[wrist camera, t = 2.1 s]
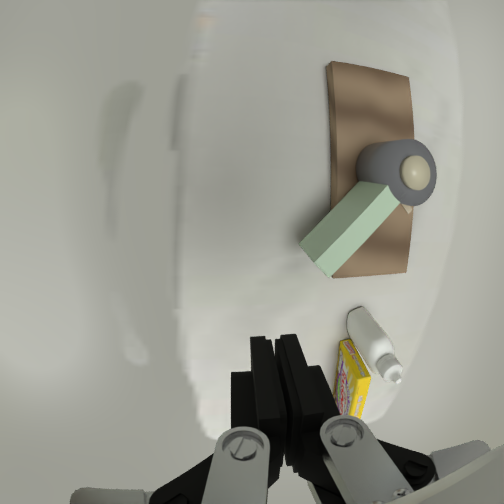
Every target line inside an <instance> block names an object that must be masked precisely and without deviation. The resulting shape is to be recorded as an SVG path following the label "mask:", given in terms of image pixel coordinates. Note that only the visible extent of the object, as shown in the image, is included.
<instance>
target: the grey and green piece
mask: <svg viewBox="0 0 504 504" xmlns="http://www.w3.org/2000/svg"><path fill="white" fill-rule="evenodd" d="M356 174H357V178H358V181H359V182H358V183H357V184H356V185H355V186H354V187H353V188H352V189H351V190H350V191H349V192H348V193H347V195H346V196H345V197H344V198H343V199H342V200H341V201H340V202H339V203H338V204H337V205H336V206H335V207H334V208H333V209H332V210H331V211H330V212H329V213H328V214H327V215H326V216H325V217H324V218H323V219H322V220H321V221H320V223H319V224H318V225H317V226H316V227H315V228H314V229H313V230H312V231H311V232H310V233H309V234H308V235H307V236H306V237H305V238H304V239H303V240H302V241H301V242H300V243H299V245H300V246H301V248H302V249H303V250H304V251H305V252H306V254H307V255H308V256H309V257H310V259H311V260H312V261H313V262H314V264H315V265H316V266H317V267H318V268H320V269H321V270H322V271H323V272H324V273H325V274H326V275H327V276H328V277H329V278H330V277H331V276H332V275H333V274H334V273H335V272H336V271H337V270H338V269H339V268H340V267H341V266H342V265H343V264H344V263H345V262H346V261H347V260H348V259H349V257H350V256H351V255H352V254H353V253H354V252H355V251H356V250H357V249H358V248H359V247H360V246H361V245H362V244H363V243H364V242H365V241H366V240H367V239H368V238H369V237H370V235H371V234H372V233H373V232H374V231H375V230H376V229H377V228H378V227H379V226H380V225H381V224H382V222H383V221H384V220H385V219H386V218H387V217H388V216H389V215H390V214H391V212H392V211H393V210H394V209H395V208H396V207H397V206H398V205H399V203H400V204H404V205H408V206H417V205H420V204H422V203H424V202H425V201H426V200H427V199H428V198H429V197H430V196H431V194H432V192H433V190H434V188H435V184H436V177H437V173H436V165H435V162H434V159H433V157H432V155H431V153H430V151H429V150H428V149H427V148H426V146H425V145H423V144H422V143H421V142H419V141H417V140H414V139H402V140H394V141H386V142H379V143H373V144H370V145H368V146H366V147H365V148H364V149H363V150H362V151H361V153H360V154H359V156H358V159H357V163H356Z"/></svg>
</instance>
